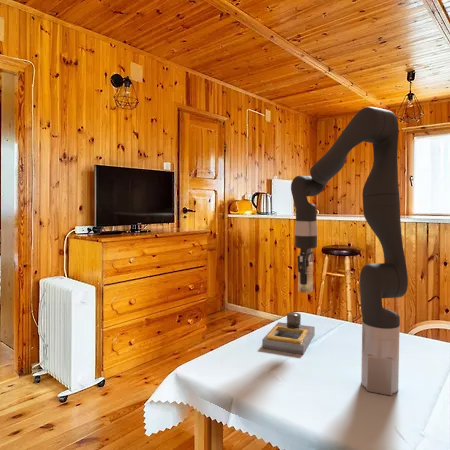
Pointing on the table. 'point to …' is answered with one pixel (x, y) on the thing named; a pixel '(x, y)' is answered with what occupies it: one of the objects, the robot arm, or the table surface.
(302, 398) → the table surface
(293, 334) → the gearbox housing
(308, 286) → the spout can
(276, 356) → the table surface
